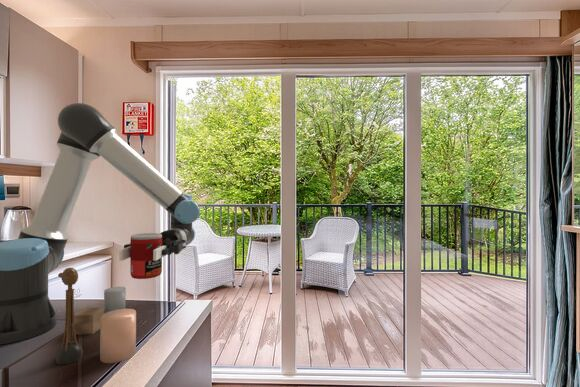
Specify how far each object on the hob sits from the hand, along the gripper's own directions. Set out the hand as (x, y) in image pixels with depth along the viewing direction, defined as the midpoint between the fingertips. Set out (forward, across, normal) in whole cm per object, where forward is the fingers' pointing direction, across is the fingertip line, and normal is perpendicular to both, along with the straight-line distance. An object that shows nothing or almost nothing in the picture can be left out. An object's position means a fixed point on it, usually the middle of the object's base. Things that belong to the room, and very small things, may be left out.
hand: (137, 255), depth 76 cm
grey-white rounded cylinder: (-14, +14, -20) cm, 29 cm away
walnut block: (-3, +14, -21) cm, 25 cm away
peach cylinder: (+9, 0, -20) cm, 22 cm away
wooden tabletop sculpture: (+10, +10, -21) cm, 25 cm away
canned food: (-5, 0, -7) cm, 8 cm away
